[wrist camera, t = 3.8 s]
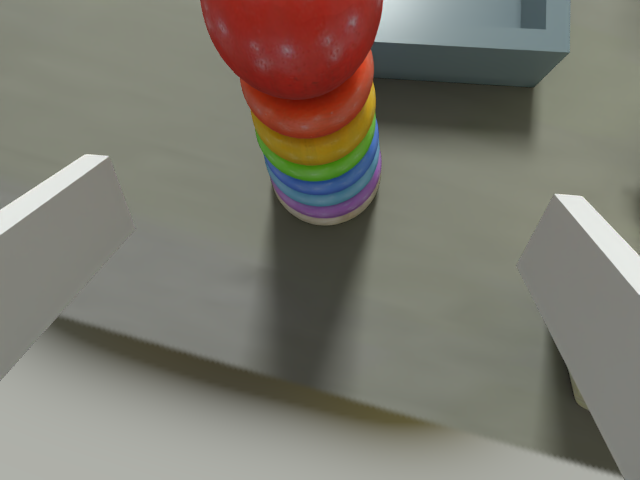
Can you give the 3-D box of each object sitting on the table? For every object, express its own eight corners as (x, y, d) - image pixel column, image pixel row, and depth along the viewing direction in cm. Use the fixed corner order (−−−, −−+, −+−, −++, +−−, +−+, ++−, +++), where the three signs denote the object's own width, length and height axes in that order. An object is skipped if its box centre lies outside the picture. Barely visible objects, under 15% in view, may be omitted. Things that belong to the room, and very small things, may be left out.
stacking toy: (335, 104, 27) (333, -308, 8) (400, 184, 26) (574, -72, 7) (252, 165, 26) (50, -112, 8) (315, 248, 25) (259, 161, 7)
